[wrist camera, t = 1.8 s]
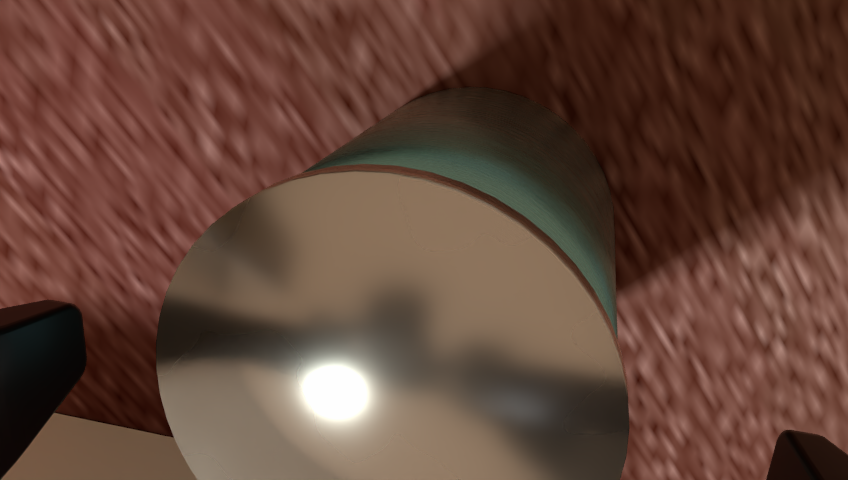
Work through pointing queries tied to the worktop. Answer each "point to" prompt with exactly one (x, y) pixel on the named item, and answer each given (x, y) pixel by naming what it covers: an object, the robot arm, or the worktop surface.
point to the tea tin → (408, 310)
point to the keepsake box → (98, 454)
